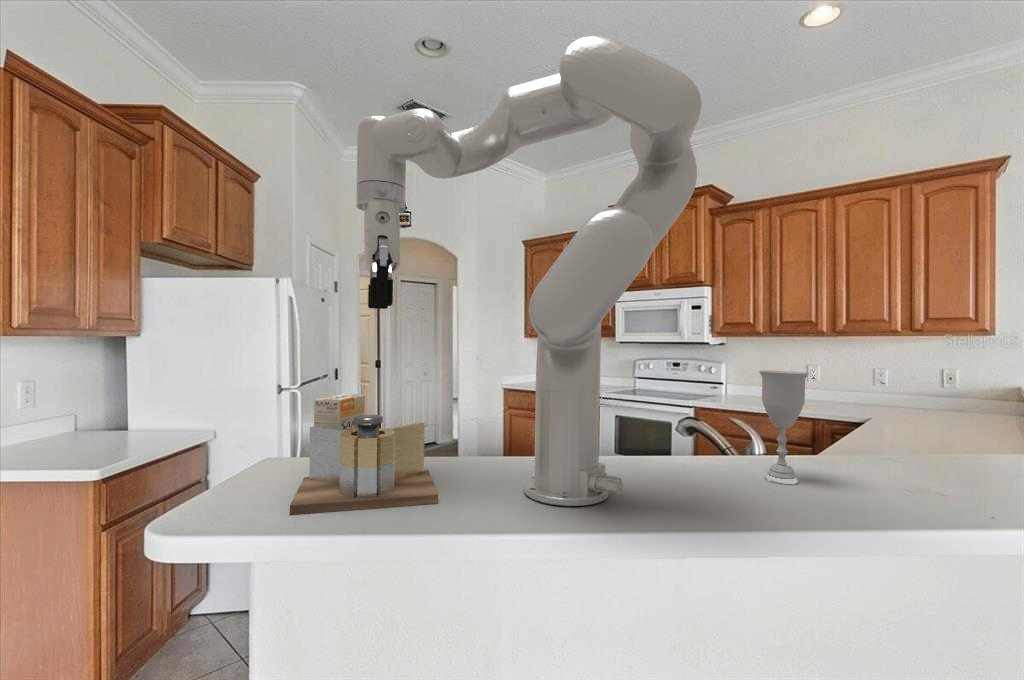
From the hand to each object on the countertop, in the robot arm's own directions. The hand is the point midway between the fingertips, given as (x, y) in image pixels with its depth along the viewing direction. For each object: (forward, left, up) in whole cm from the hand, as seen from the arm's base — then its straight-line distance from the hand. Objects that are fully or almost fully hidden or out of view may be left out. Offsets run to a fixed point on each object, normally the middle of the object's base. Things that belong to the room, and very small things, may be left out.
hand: (379, 307), depth 79 cm
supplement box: (+7, +2, -28) cm, 29 cm away
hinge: (-4, +5, -27) cm, 27 cm away
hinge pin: (-6, +6, -27) cm, 28 cm away
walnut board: (-4, +5, -28) cm, 29 cm away
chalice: (-51, -43, -28) cm, 72 cm away
